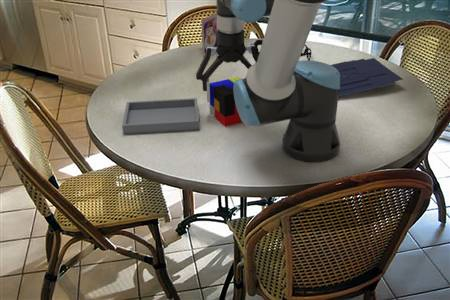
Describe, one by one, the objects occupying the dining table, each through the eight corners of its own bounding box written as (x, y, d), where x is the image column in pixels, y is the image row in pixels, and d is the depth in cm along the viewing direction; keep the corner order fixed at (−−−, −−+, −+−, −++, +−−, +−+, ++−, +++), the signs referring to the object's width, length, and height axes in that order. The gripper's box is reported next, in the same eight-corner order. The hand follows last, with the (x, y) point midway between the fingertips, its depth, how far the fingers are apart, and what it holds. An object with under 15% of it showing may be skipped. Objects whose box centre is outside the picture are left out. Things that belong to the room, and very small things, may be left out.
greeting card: (205, 57, 190) (203, 19, 183) (189, 54, 194) (187, 17, 186) (220, 49, 199) (219, 12, 191) (205, 46, 202) (203, 10, 194)
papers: (406, 89, 158) (406, 79, 157) (319, 109, 155) (318, 99, 153) (371, 63, 179) (371, 53, 177) (293, 80, 176) (293, 71, 174)
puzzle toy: (209, 113, 149) (208, 83, 144) (238, 106, 153) (238, 76, 148) (224, 127, 141) (224, 95, 136) (254, 119, 145) (255, 88, 140)
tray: (199, 130, 139) (198, 121, 138) (123, 134, 138) (122, 125, 137) (197, 106, 153) (196, 98, 151) (128, 110, 151) (126, 101, 150)
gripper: (273, 23, 137) (270, 91, 148) (184, 26, 135) (188, 95, 147) (278, 31, 131) (274, 102, 142) (185, 35, 129) (189, 107, 140)
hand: (231, 99), depth 144 cm, fingers open, 13 cm apart
